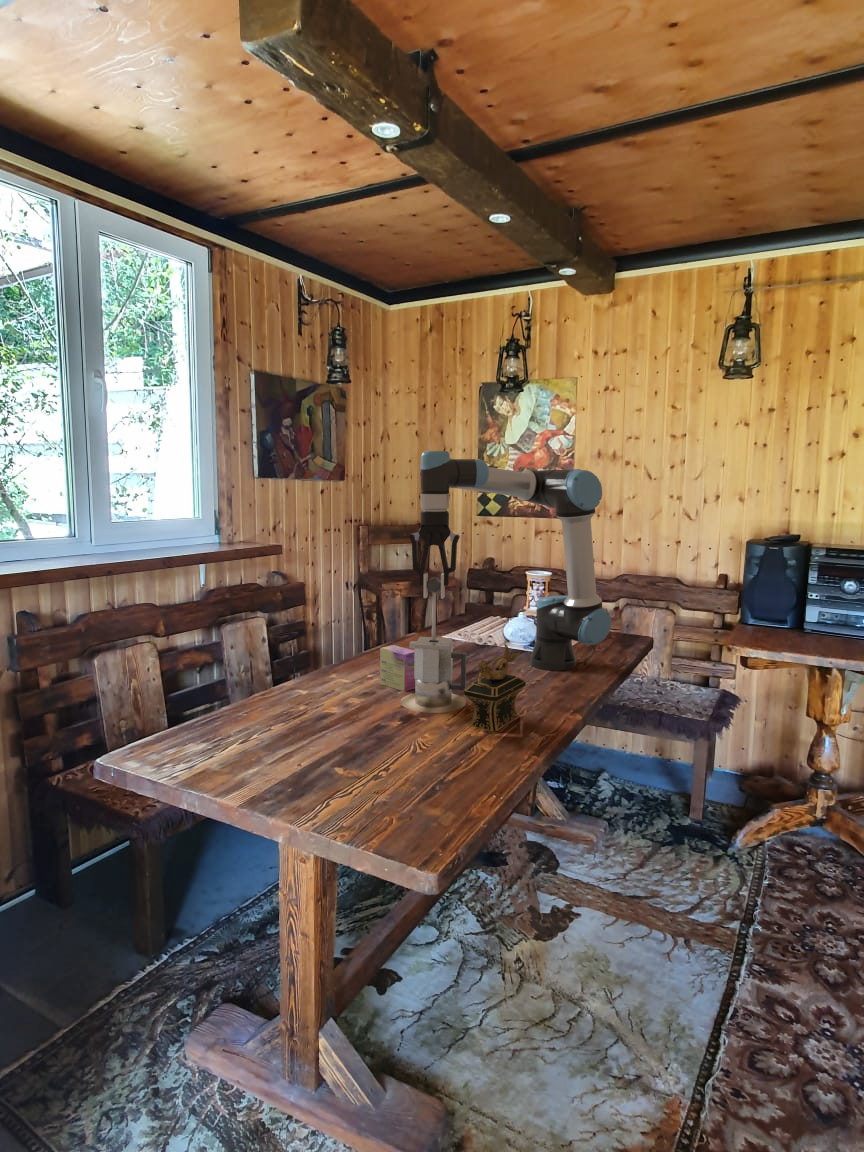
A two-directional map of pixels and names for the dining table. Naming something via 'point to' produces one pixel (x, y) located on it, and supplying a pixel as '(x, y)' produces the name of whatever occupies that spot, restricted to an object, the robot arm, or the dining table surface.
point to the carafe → (436, 671)
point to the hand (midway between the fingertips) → (434, 597)
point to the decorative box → (494, 694)
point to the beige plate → (455, 705)
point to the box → (397, 667)
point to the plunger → (434, 601)
